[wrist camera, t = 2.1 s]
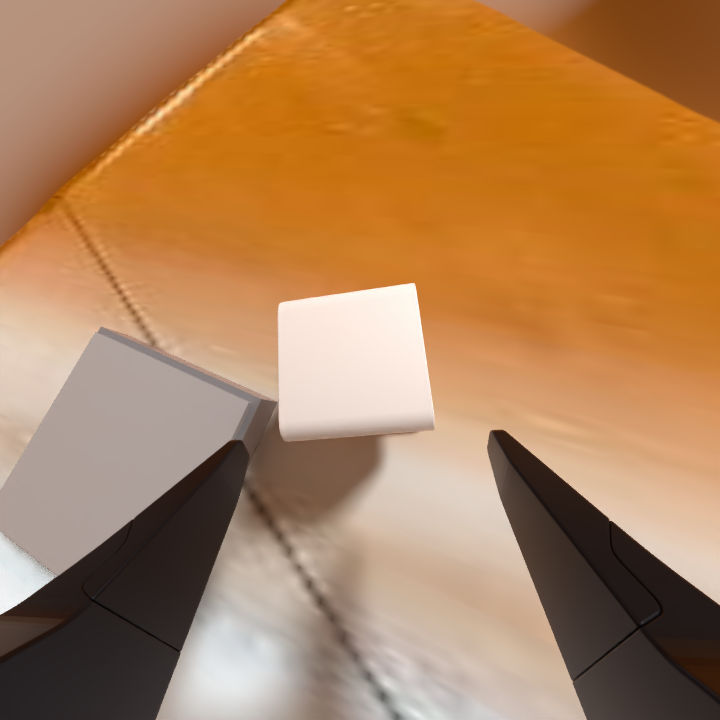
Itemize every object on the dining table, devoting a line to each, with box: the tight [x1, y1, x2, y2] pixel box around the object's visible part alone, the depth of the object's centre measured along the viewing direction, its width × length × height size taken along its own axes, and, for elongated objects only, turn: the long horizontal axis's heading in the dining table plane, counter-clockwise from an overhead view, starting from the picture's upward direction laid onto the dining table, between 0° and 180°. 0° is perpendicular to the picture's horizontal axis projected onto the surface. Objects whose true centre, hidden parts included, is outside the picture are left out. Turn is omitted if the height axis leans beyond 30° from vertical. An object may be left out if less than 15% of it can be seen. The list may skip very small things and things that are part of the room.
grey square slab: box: [0, 327, 277, 576], centre depth 20 cm, size 16×16×3 cm
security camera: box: [278, 283, 435, 442], centre depth 16 cm, size 6×7×10 cm
